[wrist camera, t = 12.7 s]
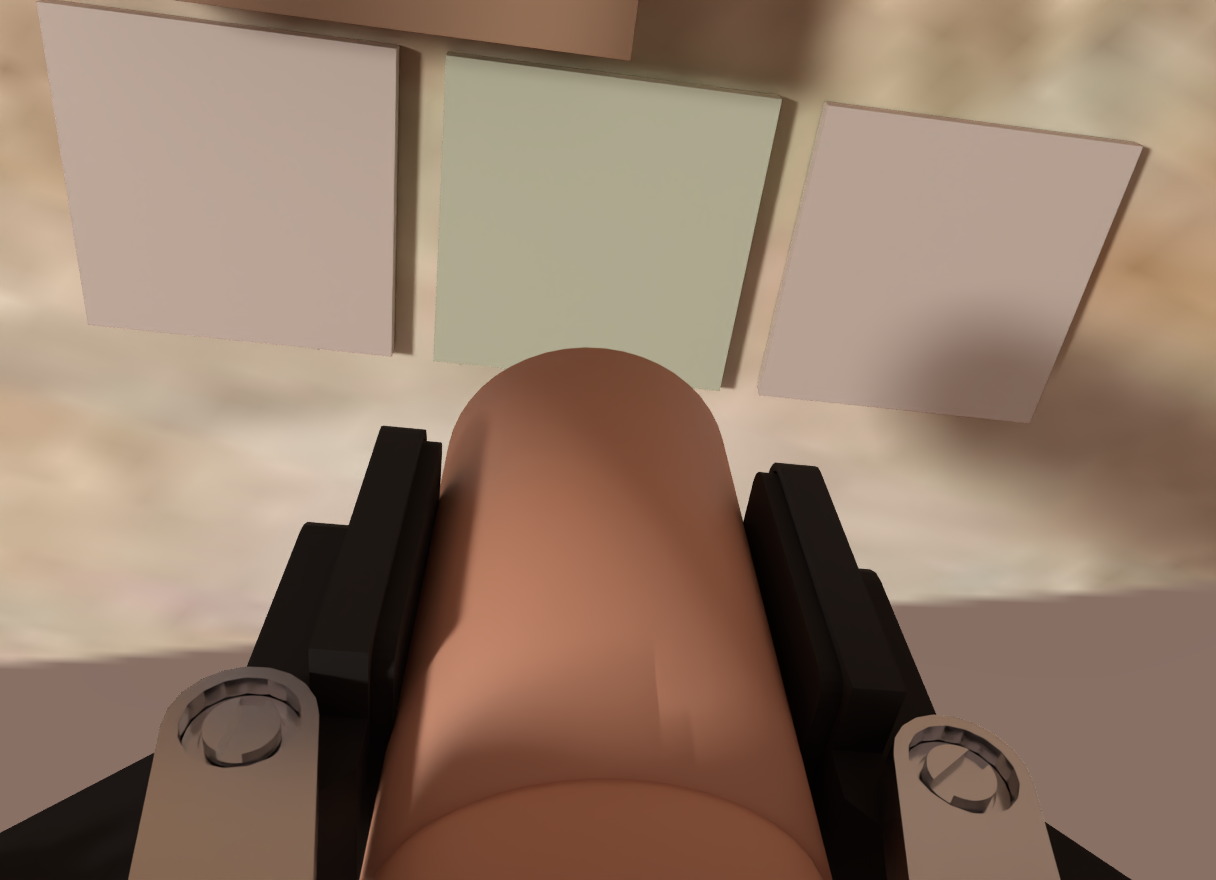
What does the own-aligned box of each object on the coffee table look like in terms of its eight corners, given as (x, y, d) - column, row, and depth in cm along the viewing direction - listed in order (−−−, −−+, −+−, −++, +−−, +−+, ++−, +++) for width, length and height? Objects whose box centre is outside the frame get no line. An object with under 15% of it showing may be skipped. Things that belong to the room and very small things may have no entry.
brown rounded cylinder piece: (750, 363, 13) (1028, 1181, 5) (698, 591, 15) (839, 1430, 7) (453, 332, 13) (252, 1160, 5) (441, 569, 15) (284, 1430, 7)
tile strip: (1134, 142, 22) (1143, 146, 21) (1023, 415, 25) (1029, 423, 25) (46, -2, 20) (36, 1, 19) (95, 317, 23) (87, 325, 23)
